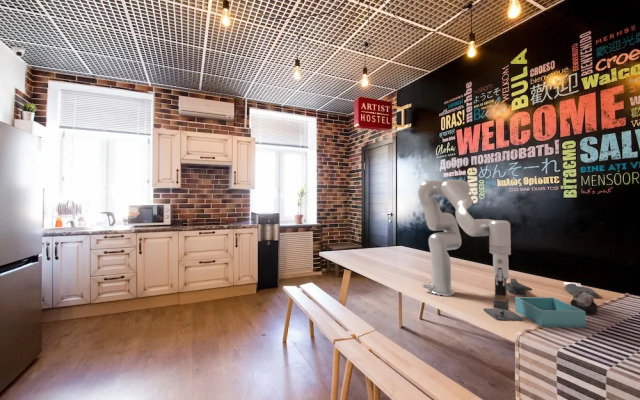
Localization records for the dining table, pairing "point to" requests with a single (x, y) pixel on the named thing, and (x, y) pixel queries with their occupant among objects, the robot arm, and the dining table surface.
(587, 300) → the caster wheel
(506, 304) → the strut
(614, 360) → the dining table surface
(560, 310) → the bin
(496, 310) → the base
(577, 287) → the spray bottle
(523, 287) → the zipper pull
